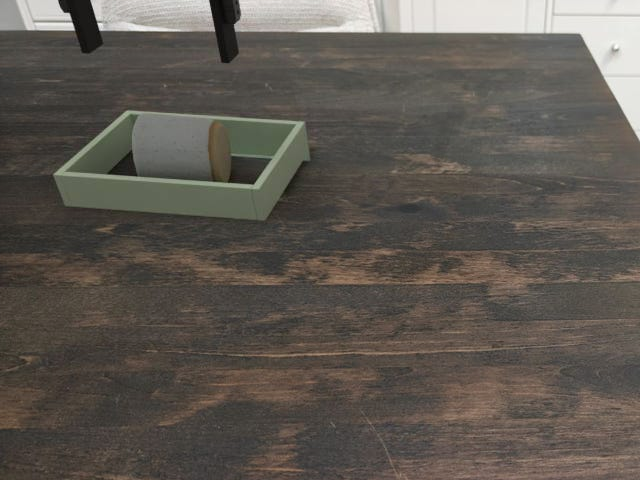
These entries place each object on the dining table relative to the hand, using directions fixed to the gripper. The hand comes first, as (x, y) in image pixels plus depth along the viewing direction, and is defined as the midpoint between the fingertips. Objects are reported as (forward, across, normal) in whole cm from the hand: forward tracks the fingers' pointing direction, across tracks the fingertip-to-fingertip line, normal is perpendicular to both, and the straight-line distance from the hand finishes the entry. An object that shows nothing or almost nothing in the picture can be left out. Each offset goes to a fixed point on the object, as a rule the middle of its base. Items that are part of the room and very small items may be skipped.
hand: (161, 53), depth 71 cm
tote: (+14, 0, 0) cm, 14 cm away
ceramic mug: (+14, 0, 0) cm, 14 cm away
